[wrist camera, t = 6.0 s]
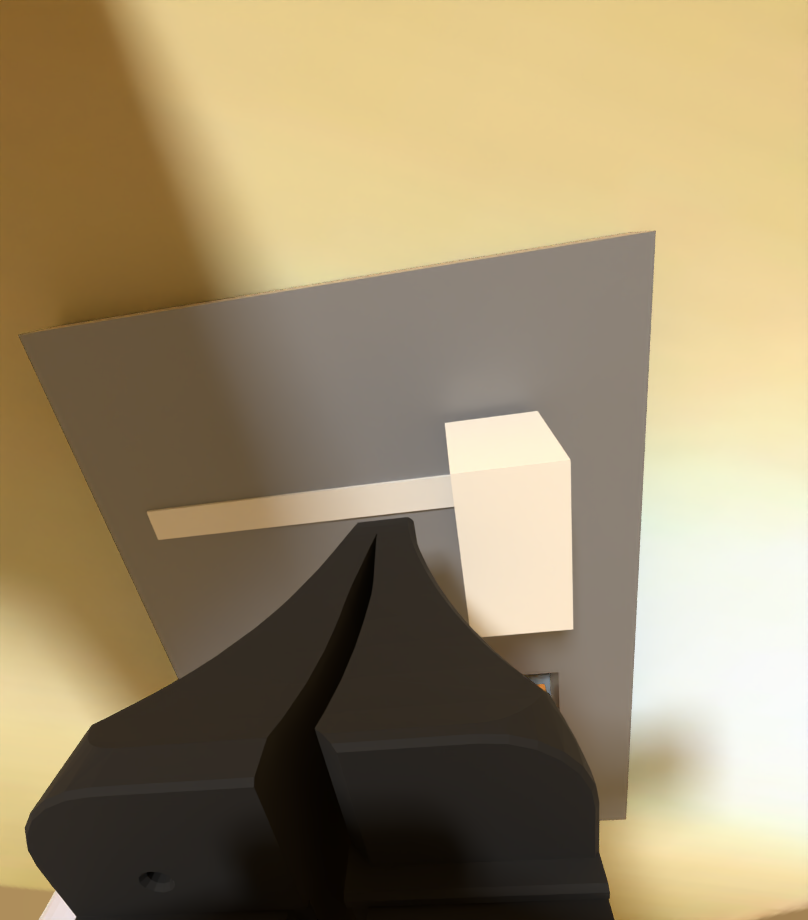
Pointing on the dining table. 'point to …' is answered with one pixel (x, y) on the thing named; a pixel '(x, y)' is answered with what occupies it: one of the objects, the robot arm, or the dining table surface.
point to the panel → (371, 445)
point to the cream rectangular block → (512, 523)
